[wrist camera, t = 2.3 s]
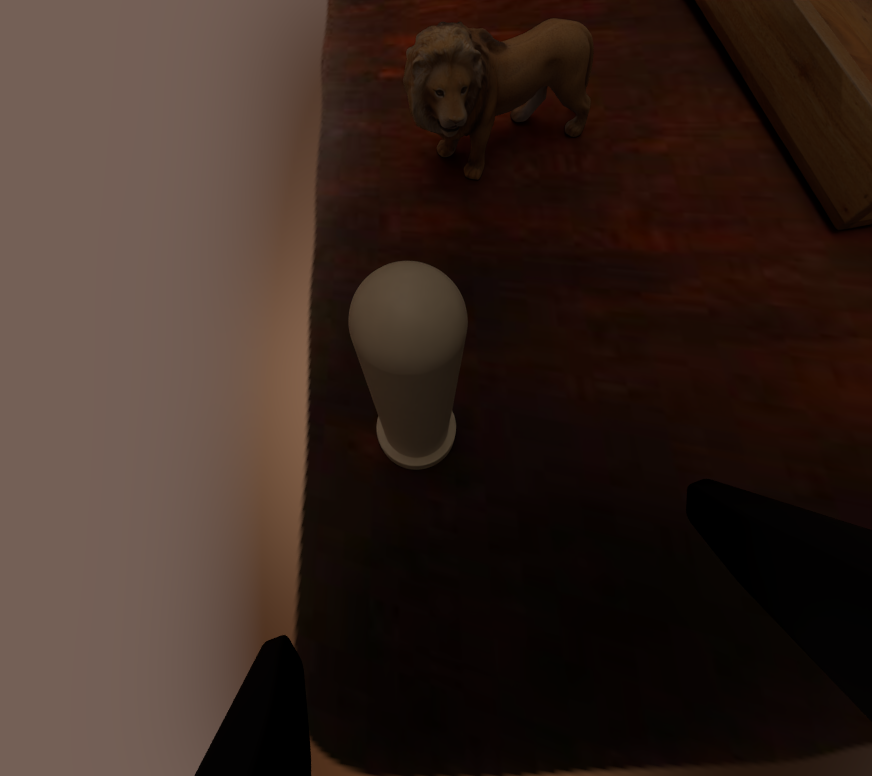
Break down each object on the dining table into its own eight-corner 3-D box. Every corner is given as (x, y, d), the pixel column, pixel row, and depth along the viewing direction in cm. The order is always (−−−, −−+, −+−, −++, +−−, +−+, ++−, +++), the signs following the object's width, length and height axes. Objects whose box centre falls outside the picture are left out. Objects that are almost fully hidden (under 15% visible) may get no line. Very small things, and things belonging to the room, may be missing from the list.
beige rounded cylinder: (448, 475, 22) (479, 380, 10) (370, 462, 22) (301, 351, 10) (460, 401, 24) (499, 234, 11) (386, 389, 24) (343, 211, 11)
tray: (1033, 199, 29) (1167, 121, 24) (830, 236, 28) (925, 162, 23) (806, -67, 40) (865, -163, 34) (649, -50, 38) (685, -147, 33)
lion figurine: (438, 223, 28) (444, 80, 19) (389, 170, 29) (375, 15, 21) (604, 123, 31) (672, -37, 23) (553, 80, 32) (598, -86, 24)
